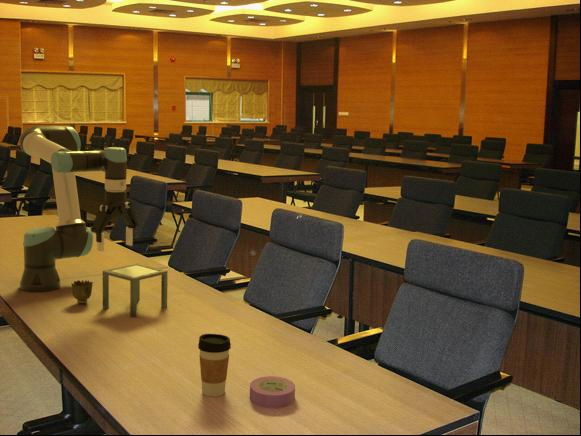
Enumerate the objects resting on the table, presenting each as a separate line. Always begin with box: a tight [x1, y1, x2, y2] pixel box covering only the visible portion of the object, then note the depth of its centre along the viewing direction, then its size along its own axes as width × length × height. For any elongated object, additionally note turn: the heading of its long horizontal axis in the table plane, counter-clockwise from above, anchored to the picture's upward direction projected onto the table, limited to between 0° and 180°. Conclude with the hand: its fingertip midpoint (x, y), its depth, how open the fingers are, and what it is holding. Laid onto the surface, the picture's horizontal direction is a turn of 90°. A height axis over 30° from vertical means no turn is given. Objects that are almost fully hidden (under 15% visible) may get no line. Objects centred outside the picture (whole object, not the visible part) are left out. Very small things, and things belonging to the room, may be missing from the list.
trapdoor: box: [111, 265, 158, 277], centre depth 245 cm, size 12×12×1 cm
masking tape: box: [249, 375, 296, 409], centre depth 175 cm, size 12×12×4 cm
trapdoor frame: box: [102, 263, 168, 319], centre depth 246 cm, size 16×16×14 cm
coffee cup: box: [197, 333, 232, 398], centre depth 177 cm, size 8×8×15 cm
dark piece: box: [71, 279, 94, 305], centre depth 250 cm, size 8×7×8 cm
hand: (115, 248), depth 248 cm, fingers open, 13 cm apart
